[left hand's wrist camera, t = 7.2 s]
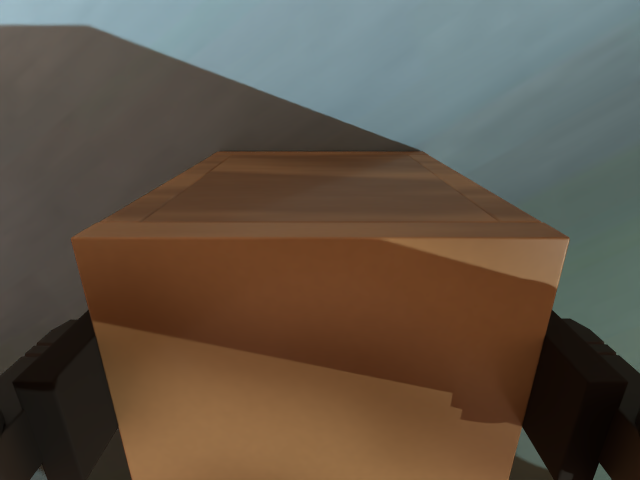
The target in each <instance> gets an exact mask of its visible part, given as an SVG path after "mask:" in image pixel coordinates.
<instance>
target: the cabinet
mask: <svg viewBox="0 0 640 480" xmlns="http://www.w3.org/2000/svg"><path fill="white" fill-rule="evenodd" d="M569 240H570V239H569V237H568V236H566V235H564V234H562V233H561V232H559V231H557V230H556V229H554V228H552V227H551V226H549V225H547V224H545V223H541V221H539V220H537V219H536V218H534V217H532V216H531V215H529V214H527V213H525V212H524V211H522V210H520V209H519V208H517V207H515V206H514V205H512V204H510V203H509V202H507V201H505V200H503V199H502V198H500V197H498V196H497V195H495V194H493V193H492V192H490V191H488V190H487V189H485V188H483V187H481V186H480V185H478V184H476V183H475V182H473V181H471V180H470V179H468V178H466V177H465V176H463V175H461V174H460V173H458V172H456V171H454V170H453V169H451V168H449V167H448V166H446V165H444V164H443V163H441V162H439V161H438V160H436V159H434V158H432V157H431V156H429V155H428V154H426V153H425V152H423V151H218V152H216V153H214V154H212V155H211V156H210V157H208V158H206V159H205V160H203V161H201V162H200V163H198V164H196V165H195V166H193V167H191V168H189V169H188V170H186V171H184V172H183V173H181V174H179V175H178V176H176V177H174V178H173V179H171V180H169V181H168V182H166V183H164V184H162V185H161V186H159V187H157V188H156V189H154V190H152V191H151V192H149V193H147V194H146V195H144V196H142V197H141V198H139V199H137V200H135V201H134V202H132V203H130V204H129V205H127V206H125V207H124V208H122V209H120V210H119V211H117V212H115V213H113V214H112V215H110V216H108V217H107V218H105V219H103V220H102V221H100V222H97V223H95V224H93V225H92V226H90V227H88V228H87V229H85V230H83V231H81V232H80V233H78V234H76V235H75V236H73V237H71V242H72V246H73V250H74V254H75V257H76V261H77V265H78V269H79V273H80V277H81V281H82V285H83V289H84V293H85V297H86V301H87V305H88V309H89V313H90V317H91V320H92V324H93V328H94V332H95V336H96V340H97V344H98V348H99V352H100V356H101V360H102V364H103V368H104V372H105V376H106V380H107V384H108V387H109V391H110V395H111V399H112V403H113V407H114V411H115V415H116V419H117V423H118V427H119V431H120V435H121V439H122V443H123V447H124V450H125V454H126V458H127V462H128V466H129V470H130V474H131V478H132V480H509V476H510V472H511V468H512V464H513V460H514V456H515V452H516V448H517V445H518V441H519V437H520V433H521V429H522V425H523V421H524V417H525V413H526V409H527V405H528V401H529V397H530V393H531V390H532V386H533V382H534V378H535V374H536V370H537V366H538V362H539V358H540V354H541V350H542V346H543V342H544V338H545V334H546V331H547V327H548V323H549V319H550V315H551V311H552V307H553V303H554V299H555V295H556V291H557V287H558V283H559V279H560V276H561V272H562V268H563V264H564V260H565V256H566V252H567V248H568V244H569Z"/></svg>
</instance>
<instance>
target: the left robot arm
mask: <svg viewBox="0 0 640 480" xmlns="http://www.w3.org/2000/svg"><path fill="white" fill-rule="evenodd" d="M522 427H523V429H524V430H525V432H526V434H527V435H528V437H529V439H530V440H531V442H532V444H533V445H534V447H535V449H536V450H537V452H538V454H539V455H540V457H541V459H542V460H543V462H544V464H545V465H546V467H547V469H548V470H549V472H550V474H551V475H552V477H553V479H554V480H593V478H594V475H595V472H596V470H597V467H598V464H599V463H600V464H601V465H602V467H603V468H604V469H605V471H606V472H607V473H608V475H609V476H610V477H611V479H612V480H640V373H639V372H637V371H636V370H635V369H634V368H633V367H632V366H631V365H630V364H628V363H627V362H626V361H625V360H624V359H623V358H622V357H620V356H619V355H616V352H615V351H614V350H613V349H611V348H610V347H609V346H608V345H605V344H604V342H603V341H602V340H601V339H600V338H599V337H598V336H597V335H596V334H594V333H593V332H592V331H591V330H590V329H588V328H586V327H585V326H583V325H581V324H579V323H577V322H575V321H574V320H572V319H561V318H560V317H559V316H558V315H557V314H556V313H555V312H554V311H553V310H552V311H551V315H550V319H549V323H548V327H547V331H546V334H545V338H544V342H543V346H542V350H541V354H540V358H539V362H538V366H537V370H536V374H535V378H534V382H533V386H532V390H531V393H530V397H529V401H528V405H527V409H526V413H525V417H524V421H523V425H522ZM117 428H118V423H117V419H116V415H115V411H114V407H113V403H112V399H111V395H110V391H109V387H108V384H107V380H106V376H105V372H104V368H103V364H102V360H101V356H100V352H99V348H98V344H97V340H96V336H95V332H94V328H93V324H92V320H91V317H90V313H89V310H88V311H87V312H86V313H85V314H84V315H83V316H81V317H80V318H79V319H78V320H69V321H68V322H66V323H64V324H62V325H60V326H59V327H57V328H55V329H53V330H51V331H50V332H49V333H48V334H47V335H46V336H45V337H43V338H42V339H41V340H40V341H39V342H38V343H37V346H33V347H32V348H31V349H30V350H29V351H28V352H27V353H25V356H24V357H21V358H20V359H19V360H18V361H16V362H15V363H14V364H13V365H12V366H11V367H10V368H9V369H7V370H6V371H5V372H4V373H3V374H2V375H1V376H0V480H30V479H31V477H32V476H33V475H34V473H35V472H36V471H37V469H38V468H39V467H40V465H41V464H42V465H43V468H44V471H45V474H46V476H47V479H48V480H86V479H87V478H88V476H89V474H90V473H91V471H92V469H93V468H94V466H95V464H96V463H97V461H98V459H99V458H100V456H101V454H102V453H103V451H104V449H105V448H106V446H107V444H108V443H109V441H110V439H111V438H112V436H113V434H114V433H115V431H116V429H117Z"/></svg>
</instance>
